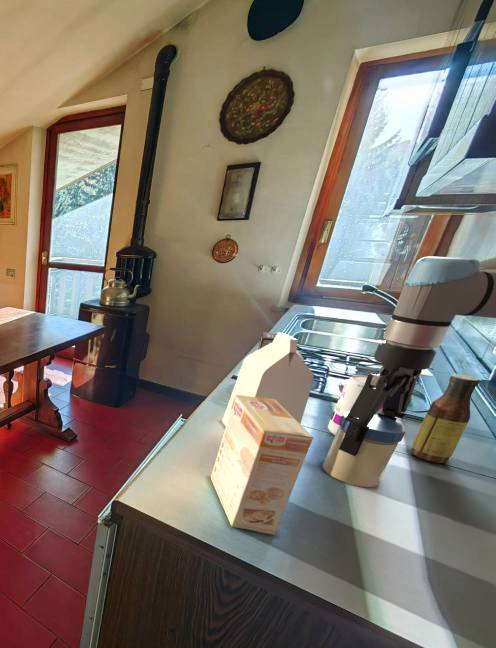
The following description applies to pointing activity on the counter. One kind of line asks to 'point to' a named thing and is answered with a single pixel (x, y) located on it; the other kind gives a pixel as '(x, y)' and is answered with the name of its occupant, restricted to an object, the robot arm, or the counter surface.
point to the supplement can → (348, 400)
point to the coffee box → (266, 339)
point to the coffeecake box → (258, 463)
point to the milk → (275, 377)
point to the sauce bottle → (445, 421)
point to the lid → (379, 429)
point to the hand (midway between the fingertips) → (361, 447)
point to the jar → (358, 461)
